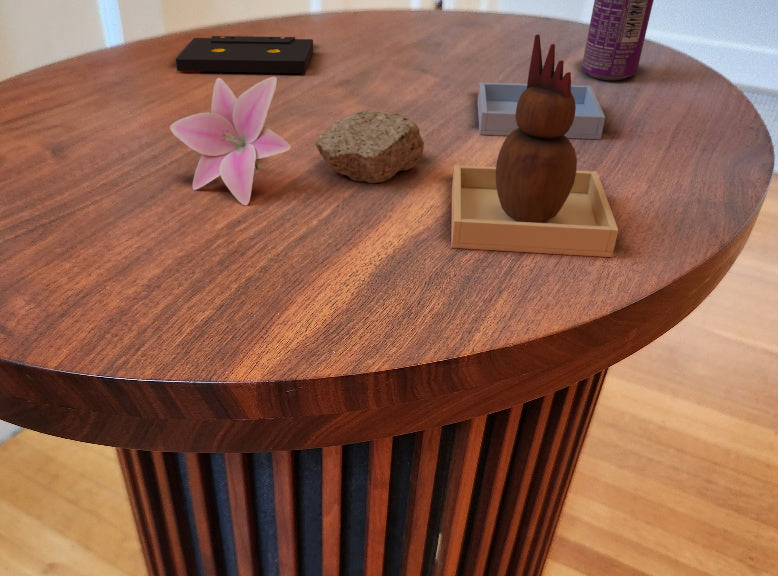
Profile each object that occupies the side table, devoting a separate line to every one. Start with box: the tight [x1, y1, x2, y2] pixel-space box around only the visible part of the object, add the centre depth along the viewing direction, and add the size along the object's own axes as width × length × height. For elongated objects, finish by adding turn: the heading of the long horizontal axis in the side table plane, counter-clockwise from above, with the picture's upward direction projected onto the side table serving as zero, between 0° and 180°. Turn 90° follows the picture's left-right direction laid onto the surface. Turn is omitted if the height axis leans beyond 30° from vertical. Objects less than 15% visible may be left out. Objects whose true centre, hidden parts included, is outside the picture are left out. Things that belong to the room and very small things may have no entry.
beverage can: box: [581, 0, 655, 81], centre depth 101 cm, size 7×7×12 cm
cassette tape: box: [175, 35, 314, 74], centre depth 111 cm, size 18×12×2 cm, turn 84°
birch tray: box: [450, 164, 619, 258], centre depth 69 cm, size 13×12×2 cm
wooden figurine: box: [495, 34, 578, 223], centre depth 65 cm, size 7×6×15 cm
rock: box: [314, 110, 425, 184], centre depth 77 cm, size 10×8×8 cm
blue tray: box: [477, 81, 606, 140], centre depth 90 cm, size 13×11×2 cm
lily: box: [169, 76, 292, 206], centre depth 75 cm, size 12×12×10 cm
